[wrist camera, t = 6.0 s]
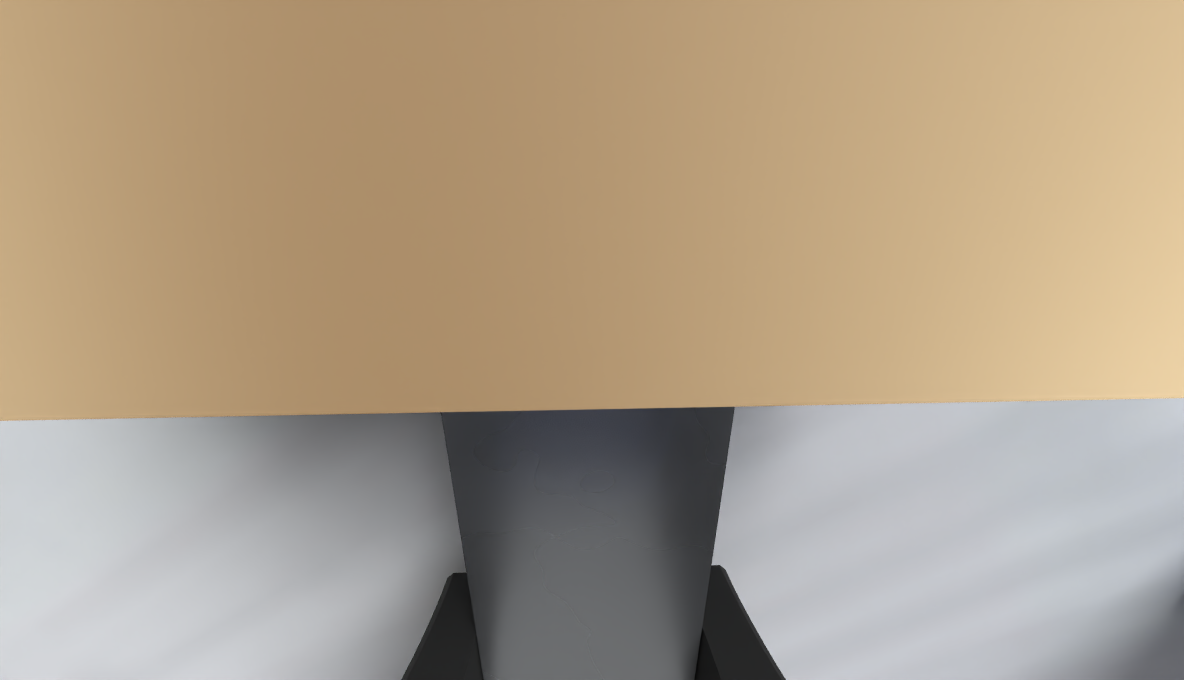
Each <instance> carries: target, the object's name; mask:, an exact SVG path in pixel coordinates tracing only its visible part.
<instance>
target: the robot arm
mask: <svg viewBox="0 0 1184 680" xmlns="http://www.w3.org/2000/svg"><path fill="white" fill-rule="evenodd" d="M402 680H484V678H483V672H482V665H481V659H480V653H479V647H478V640H477V634H476V628H475V622H474V615H473V609H472V603H471V597H470V590H469V584H468V578H467V573H453V574H452V575H451V576H449V577H448V578H447V581H446V584H445V586H444V589H443V592H442V594H441V597H440V599H439V601H438V604H437V606H436V609H435V611H434V613H433V616H432V618H431V620H430V622H429V625H428V627H427V629H426V631H425V633H424V635H423V637H422V640H421V642H420V644H419V646H418V648H417V650H416V652H415V654H414V656H413V658H412V660H411V662H410V664H409V666H408V668H407V670H406V672H405V674H404V676H403V678H402ZM694 680H786V679H785V678H784V676H783V674H782V673H781V671H780V670H779V668H778V666H777V665H776V663H775V662H774V660H773V658H772V656H771V655H770V653H769V651H768V650H767V648H766V646H765V645H764V643H763V641H762V639H761V638H760V636H759V634H758V632H757V630H756V629H755V627H754V625H753V623H752V622H751V620H750V618H749V616H748V614H747V612H746V610H745V609H744V607H743V605H742V603H741V601H740V599H739V597H738V595H737V593H736V591H735V589H734V587H733V585H732V583H731V581H730V579H729V577H728V574H727V572H726V570H725V569H724V568H723V567H721V566H720V565H711V570H710V577H709V584H708V591H707V597H706V604H705V611H704V618H703V625H702V631H701V638H700V645H699V652H698V659H697V665H696V672H695V679H694Z"/></svg>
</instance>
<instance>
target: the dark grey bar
mask: <svg viewBox="0 0 1184 680" xmlns="http://www.w3.org/2000/svg"><path fill="white" fill-rule="evenodd" d="M733 414H734V407H687V408H635V409H582V410H530V411H478V412H441V415H442V421H443V428H444V434H445V440H446V446H447V453H448V459H449V465H450V471H451V478H452V484H453V490H454V496H455V503H456V509H457V515H458V521H459V528H460V534H461V540H462V547H463V553H464V559H465V565H466V572H467V578H468V584H469V590H470V597H471V603H472V609H473V615H474V622H475V628H476V634H477V640H478V647H479V653H480V659H481V665H482V672H483V678H484V680H694V679H695V672H696V665H697V659H698V652H699V645H700V638H701V631H702V625H703V618H704V611H705V604H706V597H707V591H708V584H709V577H710V570H711V564H712V557H713V550H714V543H715V536H716V530H717V523H718V516H719V509H720V502H721V496H722V489H723V482H724V475H725V468H726V462H727V455H728V448H729V441H730V435H731V428H732V421H733Z"/></svg>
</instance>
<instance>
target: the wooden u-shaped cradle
mask: <svg viewBox="0 0 1184 680" xmlns="http://www.w3.org/2000/svg"><path fill="white" fill-rule="evenodd" d="M1156 398H1184V0H0V421H9V420H61V419H113V418H166V417H218V416H270V415H322V414H374V413H426V412H478V411H530V410H582V409H635V408H687V407H739V406H791V405H843V404H895V403H947V402H999V401H1051V400H1104V399H1156Z"/></svg>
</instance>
